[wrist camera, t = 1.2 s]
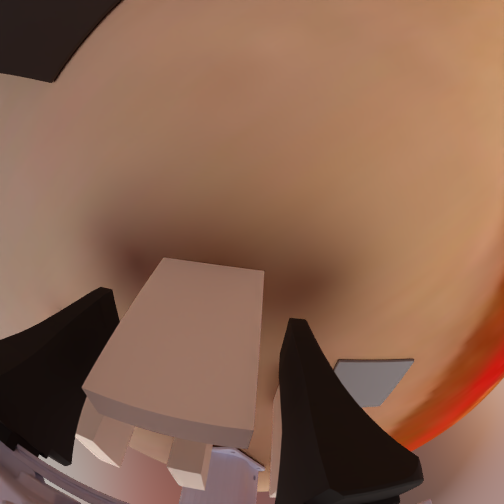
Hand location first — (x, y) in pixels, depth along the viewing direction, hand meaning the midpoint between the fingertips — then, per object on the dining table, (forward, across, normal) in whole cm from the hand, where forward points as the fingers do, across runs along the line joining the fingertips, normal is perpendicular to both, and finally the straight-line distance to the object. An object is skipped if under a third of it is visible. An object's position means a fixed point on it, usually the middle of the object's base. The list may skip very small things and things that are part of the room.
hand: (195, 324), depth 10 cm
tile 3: (+3, 0, +8) cm, 9 cm away
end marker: (+3, -11, +8) cm, 14 cm away
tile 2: (+3, +5, +8) cm, 10 cm away
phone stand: (+4, +10, -15) cm, 19 cm away
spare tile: (+3, 0, 0) cm, 4 cm away
